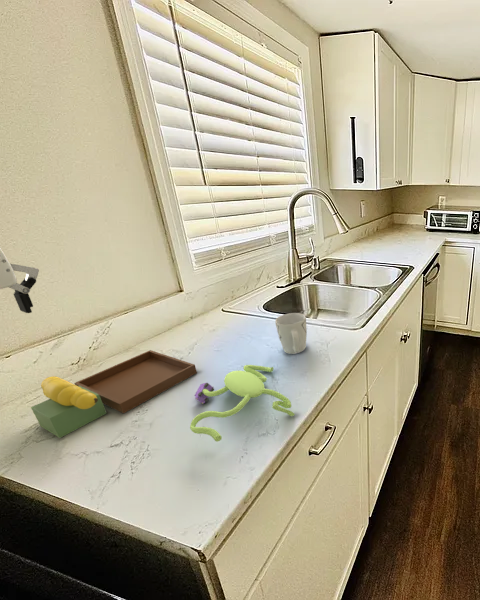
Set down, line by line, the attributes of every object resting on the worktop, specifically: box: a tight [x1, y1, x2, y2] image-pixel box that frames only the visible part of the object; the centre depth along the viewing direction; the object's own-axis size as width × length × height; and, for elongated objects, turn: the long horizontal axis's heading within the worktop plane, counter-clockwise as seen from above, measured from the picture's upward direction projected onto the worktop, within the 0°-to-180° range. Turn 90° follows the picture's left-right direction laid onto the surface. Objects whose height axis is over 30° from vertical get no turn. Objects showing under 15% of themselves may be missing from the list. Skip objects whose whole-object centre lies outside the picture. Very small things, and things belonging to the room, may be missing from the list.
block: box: [30, 386, 108, 439], centre depth 69 cm, size 8×8×5 cm
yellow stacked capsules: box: [40, 375, 98, 409], centre depth 68 cm, size 17×4×4 cm, turn 65°
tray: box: [73, 349, 198, 414], centre depth 82 cm, size 19×17×3 cm
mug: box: [274, 312, 308, 355], centre depth 94 cm, size 11×8×10 cm
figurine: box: [189, 364, 295, 443], centre depth 73 cm, size 18×27×6 cm
